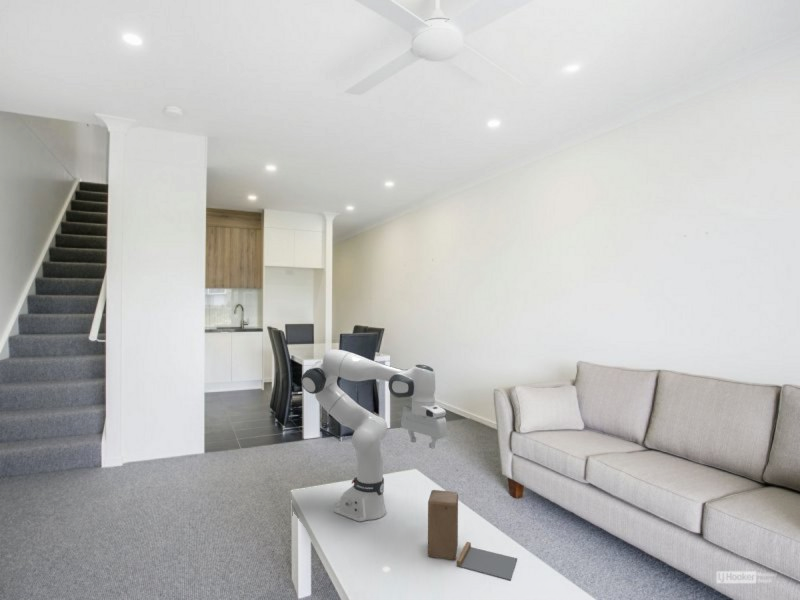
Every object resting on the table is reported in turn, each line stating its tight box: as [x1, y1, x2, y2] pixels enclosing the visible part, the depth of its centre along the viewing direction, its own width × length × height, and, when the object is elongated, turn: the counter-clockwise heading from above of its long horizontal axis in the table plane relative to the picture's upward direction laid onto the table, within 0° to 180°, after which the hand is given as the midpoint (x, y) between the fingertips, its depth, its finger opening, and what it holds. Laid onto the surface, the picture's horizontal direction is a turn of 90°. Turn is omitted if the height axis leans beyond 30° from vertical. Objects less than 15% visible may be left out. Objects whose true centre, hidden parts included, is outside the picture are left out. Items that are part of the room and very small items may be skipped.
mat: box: [455, 541, 518, 581], centre depth 147 cm, size 18×13×2 cm
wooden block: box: [427, 489, 459, 560], centre depth 154 cm, size 10×10×20 cm
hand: (422, 444), depth 162 cm, fingers open, 8 cm apart
